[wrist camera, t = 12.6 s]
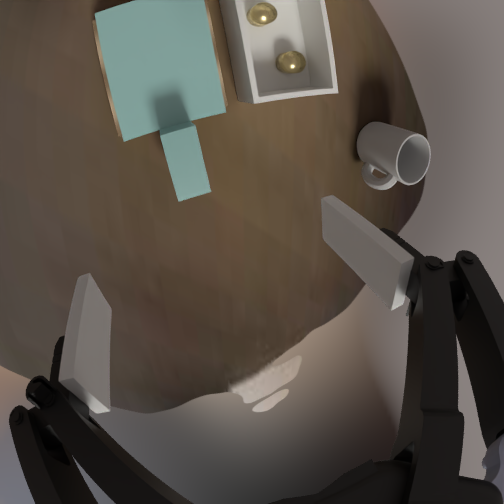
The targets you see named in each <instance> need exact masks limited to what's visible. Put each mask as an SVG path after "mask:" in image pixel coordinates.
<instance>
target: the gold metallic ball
mask: <svg viewBox="0 0 504 504" xmlns="http://www.w3.org/2000/svg"><path fill="white" fill-rule="evenodd" d="M246 17H247V20H248V22H249V23H250V24H251V25H253V26H256V27H262V26H265V25H267V24H269V23H271V22H273V21H274V20H275V19H276V18H277V10H276V8H275V7H274V6H273V5H272V4H270V3H267V2H261V3H258V4H257V5H255V6H254V7H252V8H251V9H250V10H249V11H248V12H247V15H246Z"/></svg>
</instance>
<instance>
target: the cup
mask: <svg viewBox="0 0 504 504" xmlns="http://www.w3.org/2000/svg"><path fill="white" fill-rule="evenodd" d="M357 151H358V155H359V157H360V159H361V160H362V161H363V162H364V165H363V167H362V177H363V179H364V181H365V182H366V183H367V185H369V186H370V187H372V188H375V189H379V190H386V189H388V188H391V187H392V186H393V185H394V184H395V183H396V182H397V180H398V181H400V182H402V183H404V184H406V185H413V184H415V183H417V182H419V181H420V180H421V179H422V178H423V176H424V175H425V174H426V172H427V169H428V167H429V164H430V157H431V152H430V146H429V143H428V141H427V139H426V138H425V137H424V136H422V135H420V134H417V133H414V132H411V131H408V130H405V129H402V128H399V127H396V126H392V125H389V124H386V123H382V122H371V123H369V124H367V125H366V126H364V127H363V129H362V130H361V131H360V133H359V135H358V139H357ZM374 168H375V169H377V170H379V171H381V172H383V173H385V174H387V175H386V176H385V177H384V178H382V179H379V178H376V177H375V176H374V175H372V171H373V169H374Z"/></svg>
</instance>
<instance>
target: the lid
mask: <svg viewBox="0 0 504 504" xmlns="http://www.w3.org/2000/svg"><path fill="white" fill-rule="evenodd" d="M95 18H96V24H97V30H98V36H99V41H100V46H101V51H102V56H103V61H104V65H105V70H106V74H107V79H108V83H109V87H110V91H111V95H112V99H113V103H114V107H115V111H116V115H117V118H118V122H119V126H120V129H121V133H122V136H123V139H124V141H127V140H130V139H133V138H136V137H139V136H142V135H145V134H148V133H151V132H154V131H157V130H160V137H161V141H162V145H163V148H164V152H165V156H166V159H167V163H168V166H169V170H170V173H171V177H172V180H173V184H174V187H175V191H176V194H177V197H178V201H182V200H185V199H189V198H192V197H195V196H198V195H202V194H205V193H209V192H211V190H210V186H209V181H208V177H207V173H206V169H205V165H204V160H203V156H202V152H201V148H200V143H199V139H198V135H197V130H196V126H195V125H194V124H193V123H192V122H191V121H192V120H196V119H200V118H204V117H208V116H212V115H216V114H221V113H225V112H226V109H225V104H224V99H223V94H222V89H221V84H220V79H219V73H218V68H217V63H216V58H215V53H214V48H213V43H212V38H211V33H210V28H209V23H208V18H207V12H206V7H205V2H204V0H135V1H131V2H128V3H125V4H121V5H118V6H115V7H112V8H109V9H106V10H103V11H101V12H98V13H95Z"/></svg>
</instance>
